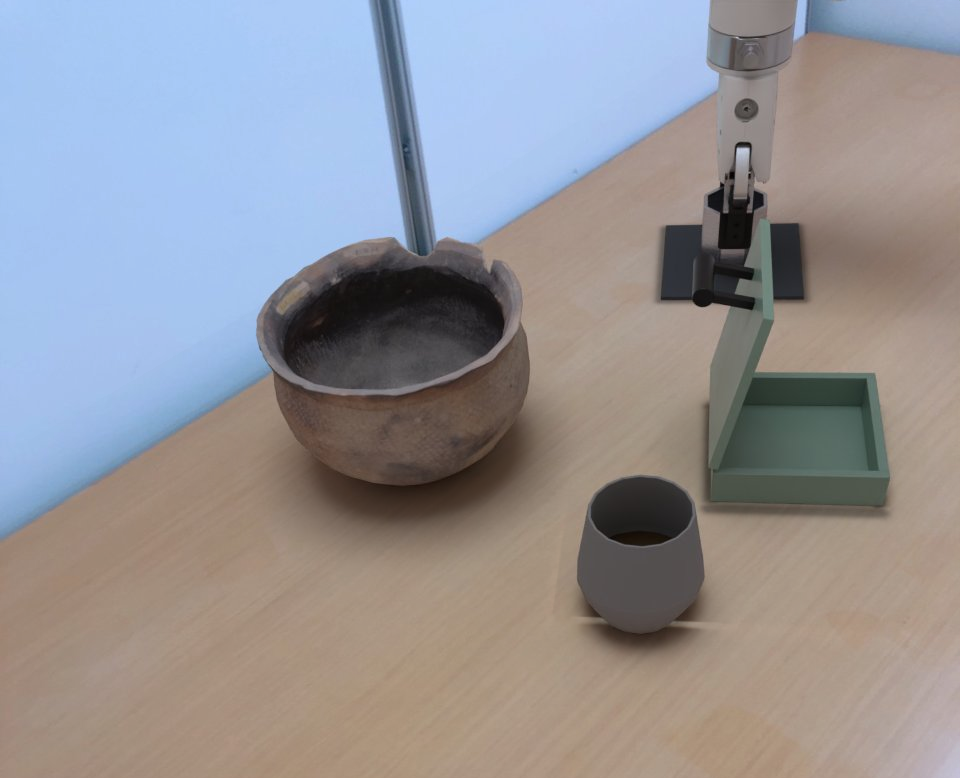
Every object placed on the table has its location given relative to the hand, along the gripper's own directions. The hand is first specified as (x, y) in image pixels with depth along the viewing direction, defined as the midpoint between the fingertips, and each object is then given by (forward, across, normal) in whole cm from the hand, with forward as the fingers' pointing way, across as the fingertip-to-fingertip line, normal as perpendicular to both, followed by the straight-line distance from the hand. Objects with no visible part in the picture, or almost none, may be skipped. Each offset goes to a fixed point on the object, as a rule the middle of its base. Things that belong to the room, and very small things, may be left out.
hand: (733, 227), depth 112 cm
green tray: (+4, -31, -5) cm, 32 cm away
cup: (+4, -49, +7) cm, 50 cm away
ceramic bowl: (+4, -31, +28) cm, 42 cm away
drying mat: (+4, 0, 0) cm, 4 cm away
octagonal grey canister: (+3, 0, 0) cm, 3 cm away
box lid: (-7, -31, 0) cm, 32 cm away
